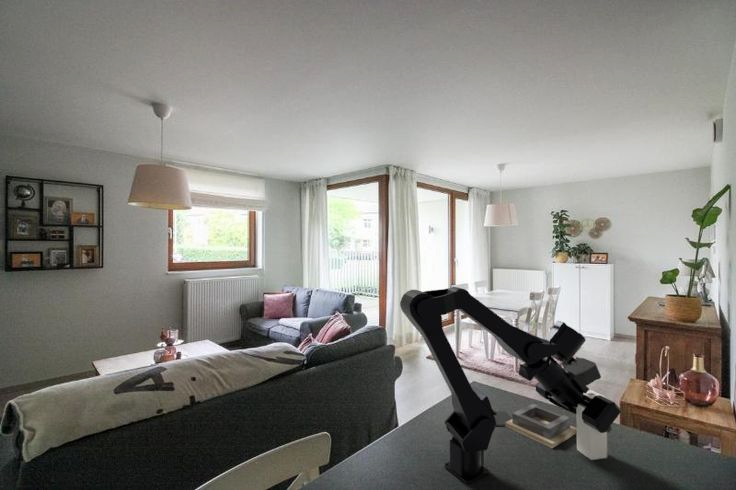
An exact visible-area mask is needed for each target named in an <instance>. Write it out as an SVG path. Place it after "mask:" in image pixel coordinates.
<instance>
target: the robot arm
mask: <svg viewBox="0 0 736 490" xmlns="http://www.w3.org/2000/svg"><path fill="white" fill-rule="evenodd" d="M399 303H400V304H399V305H400V309H401V312H402V313H403V315H405V316H406V318H407V319H408V320H409V322H410V323H411V324H412V326H413V327H414V328H415V329H416V330H417V332H419V334H420V335H421V336H422V338H423V340H424V341H425V342H424V343H425V344H426V346H427V348H428V350H429V352H430V354H431V356H432V358H433V360H434V361H435V363H436V366H437V367H438V369H439V372H440V373H441V375H442V377H443V379H444V381H445V383H446V385H447V387H448V390H449V392H450V393H451V394H450V395H451V404H452V406H453V407H452V408H453V412H451V414H450V415H449V416H448V417H447V418H446V420H445V421H444V424H445V428H446V430H447V432H448V433H450V435H451V438H450V439H449V461H448V462H445V463H444V468H445V469H446V470H448V471H449V472H450V473H452V474H453V475H454V476H456V477H457V478H458V479H460V480H461V481H462V482H464V483H465V484H470V483H473V482H475V481H476V480H478V479H481V478H483V477H485V476H487V475H489V474H490V469H488V468H487V467H485V466H484V465H485V464H484V463H485V461H484V459H485V458H484V456H485V451H487V450H489V448H488V447H489V445H490V442H491V439H492V436H493V433H494V431H495V428H496V427H497V426H496V419H495V417H494V415H497V413H495V412H494V411H495V410H494V409H493V407H492V405H491V402H490V399H489V397H488V396H487V395H486V394H484V393H483V392H482V391H480V390H479V389H478V388H477V387H476V386H474V385H471V384H470V382H469V379H468V377H467V376H466V373H465V371H464V369H463V367H462V365H461V363H460V362H459V360H458V357H457V355H456V353H455V351H454V350H453V348H452V345H451V344H450V340H449V339H448V337H447V335H446V333H445V331H444V327H443V317H442V316H445V315H448V314H450V313H453V312H454V311H457V310H458V311H459V312H460V313H462V314H463V315H464V316H466V317H467V318H469V319H470V320H472V322H474V323H475V324H477V325H478V326H480V327H481V328H482V329H483V330H485V331H487V332H488V333H489V334H491V335H492V336H493V338H494V339H495V340H496V341H497V343H498V345H499V346H500V347H501V349H503V350H504V351H505V352H506V354H508V355H509V356H512V357H514V358H515V359H517V360H520V361H521V362H523V363H522V364H519V370H518V375H519V376H520V377H521V378H523V379H525V380H526V381H529V382H531V381H532V380H533V379H534V378H535V380H536V381H537V383H536V385H535V392H537V393H538V394H539V396H541V397H542V398H544V399H546V400H547V401H549V402H550V403H551V404H554V405H555V406H556V407H559V408H560V409H563V410H566V411H568V412H570V413H572V414H574V415H576V408H577V407H578V404H579V405H580V406H582V407H584V408H585V409H584V410H583V411H582V420H583V422H584V423H585V424H587V425H589V426H590V427H592V428H594V429H595V430H597V431H598V432H600V433H605V432H607V434H609V433H610V432H611V431H612V426H611V425H612V424H613V423H614V421H616V419H617V418H618V416H619V415H620V414H621V413H622V411H621V408H620V406H619V405H617V403H616V402H615V401H613V400H611V399H609V398H607V399H606V398H604V397H602V396H600V395H599V396H594V398H590V397H588V396H586V395H584V394H583V393H587V391H588V390H590V388H589V387H588V386H589V385H591V384H592V383H593V382H595V381H597V380H600V379H601V378H602V376H601V373H600V370H599V369H598V366H597V364H596V362H594V361H591V360H589V359H587V358H584V357H583V358H582V357H579V356H578V357H574V356H575V355H576V353H578V351H579V350H580V348H581V347H582V346H583V345H584V343H585V342H586V338H585V337H584V335H583V334H582V333H581V332H578V331H577V330H575V328H572V327H571V326H569V325H567V323H566V322H565V321H561V320H560V321H559V320H557V321H556V322H555V323H554V324H553V326H552V328H551V329H550V331H548V332H547V333H546V335H545V336H544V337H539V336H537V335H533V334H531V333H529V332H527V331H525V330H523V329H521V328H518V327H516V326H514V325H513V324H510V323H509V322H508V321H507V320H505V319H504V318H503V317H501V316H500V315H499V314H497V313H495V312H494V311H493V310H492V309H490V308H489V307H488V306H486V305H485V304H484V303H482V302H481V301H480V300H478V299H477V298H476V297H474V296H473V295H471V293H470V292H469V291H468V290H467V289H465V288H461V287H457V286H451V287H448V288H443V289H434V290H425V291H421V290H417V289H409V290H407V291H406V292H405V293H404V294H403V295H402V296H401V300H400V302H399ZM557 361H559V362H562V363H561V364H562V366H561V365H560V364H559V363H558V362H557Z"/></svg>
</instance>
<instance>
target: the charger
mask: <svg viewBox="0 0 736 490" xmlns="http://www.w3.org/2000/svg"><path fill="white" fill-rule="evenodd" d="M583 394H584V395H586V396H588V397H590V398H594V396H599V395H600V396H602V397H604V398H606V399H608V398H607V397H606V396H605V395H603V394H600V392H599V393H598V392H596V391H595V390H592V389H589V390H588V391H587V393H583ZM584 409H585V408H584V407H582V406H580V405H579V404H578V407H577V408H576V414H575V415H576V428H577V433H576V450H577V451H578V452H580V453H581V454H582V455H584V456H585V457H586V458H588V459H589V460H590V461H593V460H600V459H607V458H608V432H605V433H600V432H598V431H597V430H595V429H594V428H592V427H590V426H589V425H587V424H585V423H584V422H583V420H582V411H583V410H584Z"/></svg>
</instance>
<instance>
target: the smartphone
mask: <svg viewBox="0 0 736 490" xmlns="http://www.w3.org/2000/svg"><path fill="white" fill-rule="evenodd" d="M493 411H494V412H495V413H497V415H494V417H495V419H496V426H495V427H505V422H507V421H509V420H511V419H512V415H511V414H510V413H509V412H508V411H505V410H493Z"/></svg>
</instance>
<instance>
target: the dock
mask: <svg viewBox="0 0 736 490" xmlns="http://www.w3.org/2000/svg"><path fill="white" fill-rule="evenodd" d="M511 417H512V419H511V420H509V421H507V422H505V426H504V427H505V428H508V429H509V430H512V431H514V432H516V433H518V434H520V435H523V436H525V437H527V438H529V439H531V440H532V441H535V442H538V443H539V444H542V445H544V446H546V447H548V448H550V449H554V448H555V447H557V446H559V445H560V444H561V443H564V442H565V441H566V440H568V439H570V438H571V437H573V436H574V435H577V426H576V427H575V426H573V425H571V417H570V416H566V415H565V414H562V413H559V412H557V411H554V410H552V409H549V408H545V407H543V406H541V405H538V404H535V403H531V404H529V405H527V406H525V407H523V408H520V409H519V410H517V411H514V412H512V415H511Z"/></svg>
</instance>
